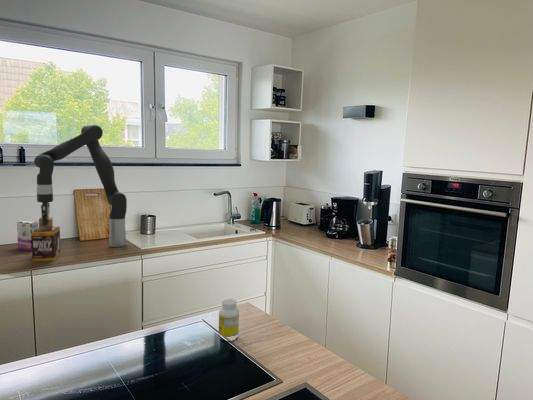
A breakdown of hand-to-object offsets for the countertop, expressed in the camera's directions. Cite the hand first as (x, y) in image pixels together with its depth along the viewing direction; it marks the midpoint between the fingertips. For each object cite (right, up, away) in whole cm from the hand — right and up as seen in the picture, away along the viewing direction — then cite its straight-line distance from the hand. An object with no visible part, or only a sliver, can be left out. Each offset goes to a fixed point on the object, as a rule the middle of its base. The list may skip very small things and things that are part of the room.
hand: (45, 223), depth 213 cm
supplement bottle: (+106, -34, -79) cm, 136 cm away
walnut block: (0, -3, 0) cm, 3 cm away
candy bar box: (-19, -16, +16) cm, 30 cm away
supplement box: (-1, -19, +2) cm, 19 cm away
